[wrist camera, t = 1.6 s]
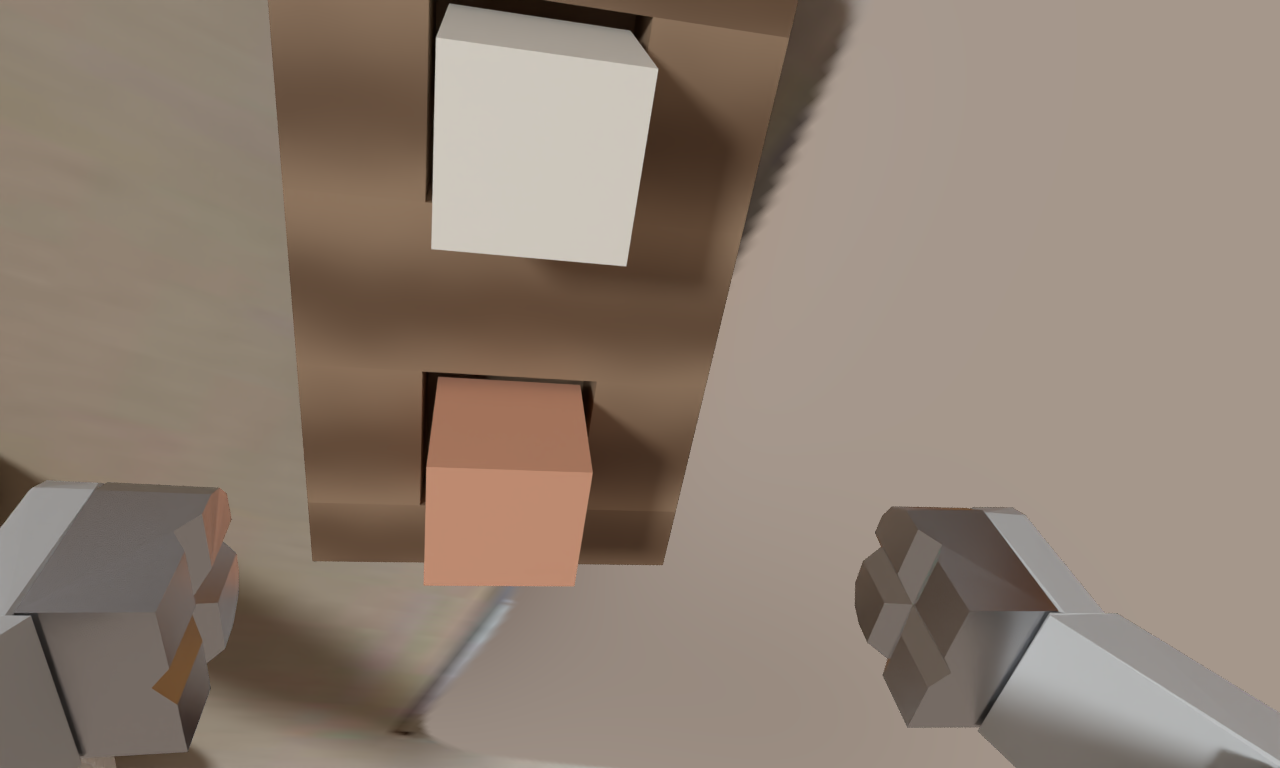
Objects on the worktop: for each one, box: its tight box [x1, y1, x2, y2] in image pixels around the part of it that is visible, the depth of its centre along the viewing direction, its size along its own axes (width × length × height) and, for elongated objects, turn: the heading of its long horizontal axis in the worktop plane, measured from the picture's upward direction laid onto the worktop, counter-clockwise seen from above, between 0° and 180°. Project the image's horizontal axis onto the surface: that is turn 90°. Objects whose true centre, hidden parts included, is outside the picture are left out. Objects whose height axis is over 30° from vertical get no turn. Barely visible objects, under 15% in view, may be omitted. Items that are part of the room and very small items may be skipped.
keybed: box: [268, 0, 798, 565], centre depth 28 cm, size 24×14×4 cm, turn 171°
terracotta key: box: [424, 377, 593, 586], centre depth 28 cm, size 5×5×5 cm
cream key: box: [431, 3, 658, 266], centre depth 21 cm, size 5×5×5 cm
